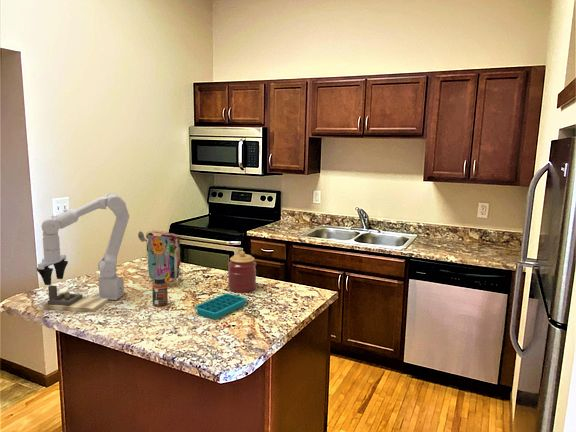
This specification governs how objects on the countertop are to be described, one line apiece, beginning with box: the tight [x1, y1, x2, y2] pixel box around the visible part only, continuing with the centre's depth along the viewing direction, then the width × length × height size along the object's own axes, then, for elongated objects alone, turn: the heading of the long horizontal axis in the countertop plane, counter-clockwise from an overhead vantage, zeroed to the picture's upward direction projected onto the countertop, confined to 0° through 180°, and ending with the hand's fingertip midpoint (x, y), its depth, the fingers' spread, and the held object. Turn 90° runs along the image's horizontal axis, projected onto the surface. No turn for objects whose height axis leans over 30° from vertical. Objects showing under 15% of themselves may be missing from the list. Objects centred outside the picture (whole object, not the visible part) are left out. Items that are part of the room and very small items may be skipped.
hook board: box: [44, 291, 109, 313], centre depth 169 cm, size 20×11×5 cm, turn 84°
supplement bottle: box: [151, 277, 169, 307], centre depth 172 cm, size 6×6×11 cm
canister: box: [227, 250, 257, 293], centre depth 193 cm, size 13×13×18 cm
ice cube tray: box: [194, 293, 248, 320], centre depth 169 cm, size 12×20×3 cm, turn 148°
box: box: [137, 230, 184, 288], centre depth 198 cm, size 25×6×24 cm, turn 62°
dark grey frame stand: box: [47, 284, 84, 306], centre depth 169 cm, size 11×9×6 cm
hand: (54, 281), depth 169 cm, fingers open, 7 cm apart
